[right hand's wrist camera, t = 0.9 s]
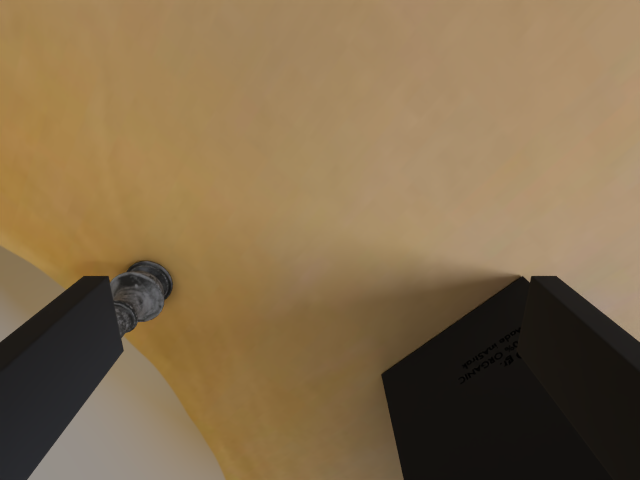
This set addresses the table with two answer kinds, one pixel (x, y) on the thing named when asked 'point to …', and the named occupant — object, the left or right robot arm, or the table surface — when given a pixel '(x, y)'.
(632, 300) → the table surface
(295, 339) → the table surface
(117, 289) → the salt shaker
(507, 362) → the cardboard box
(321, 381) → the table surface
